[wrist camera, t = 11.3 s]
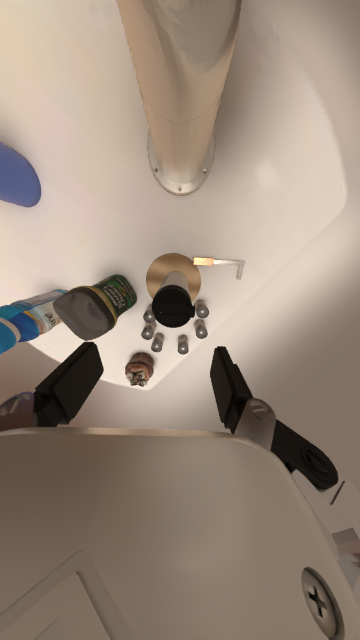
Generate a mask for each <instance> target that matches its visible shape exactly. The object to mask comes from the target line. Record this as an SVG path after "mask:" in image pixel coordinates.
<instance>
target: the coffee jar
mask: <svg viewBox="0 0 360 640" xmlns="http://www.w3.org/2000/svg"><path fill="white" fill-rule="evenodd" d="M135 303H136V295H135V293H134V291H133V289H132V287H131V286H130V284H129V283H128V281H127V280H126V279H125V278H124V277H123V276H121V275H113V276H110V277H108V278H106V279H104V280H102V281H100V282H99V283H97V284H95V285H93V286H79V287H76V288H73V289H71V290H69V291H68V292H67V293H65V294H63V295H62V296H60V297H59V298H57V299H56V300H55V301H54V302H53V308H54V310H55V312H56V314H57V315H58V316H59V317H60V318H61V320H62V321H63V322H64V323H65V324H66V325H67V326H68V327H69V328H70V330H71V331H72V332H73V333H74V334H75V335H77V336H78V337H79V338H81V339H83V340H85V341H88V340H92V339H95V338H98V337H100V336H102V335H103V334H105V333H107V332H108V331H109V330H111V329H112V328H114V326H115V325H116V323H117V319H118V317H119V316H120V315H121V314H122V313H124V312H125V311H127V310H128V309H130V308H131V307H132V306H133V305H134V304H135Z"/></svg>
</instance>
